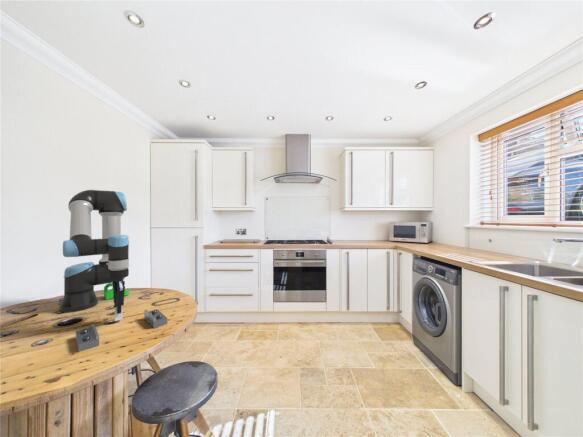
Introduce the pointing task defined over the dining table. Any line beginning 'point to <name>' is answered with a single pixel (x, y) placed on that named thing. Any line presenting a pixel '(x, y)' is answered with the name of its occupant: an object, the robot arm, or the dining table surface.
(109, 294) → the mechanical part
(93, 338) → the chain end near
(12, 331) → the dining table surface
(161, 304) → the dining table surface
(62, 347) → the dining table surface
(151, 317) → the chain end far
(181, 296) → the dining table surface
